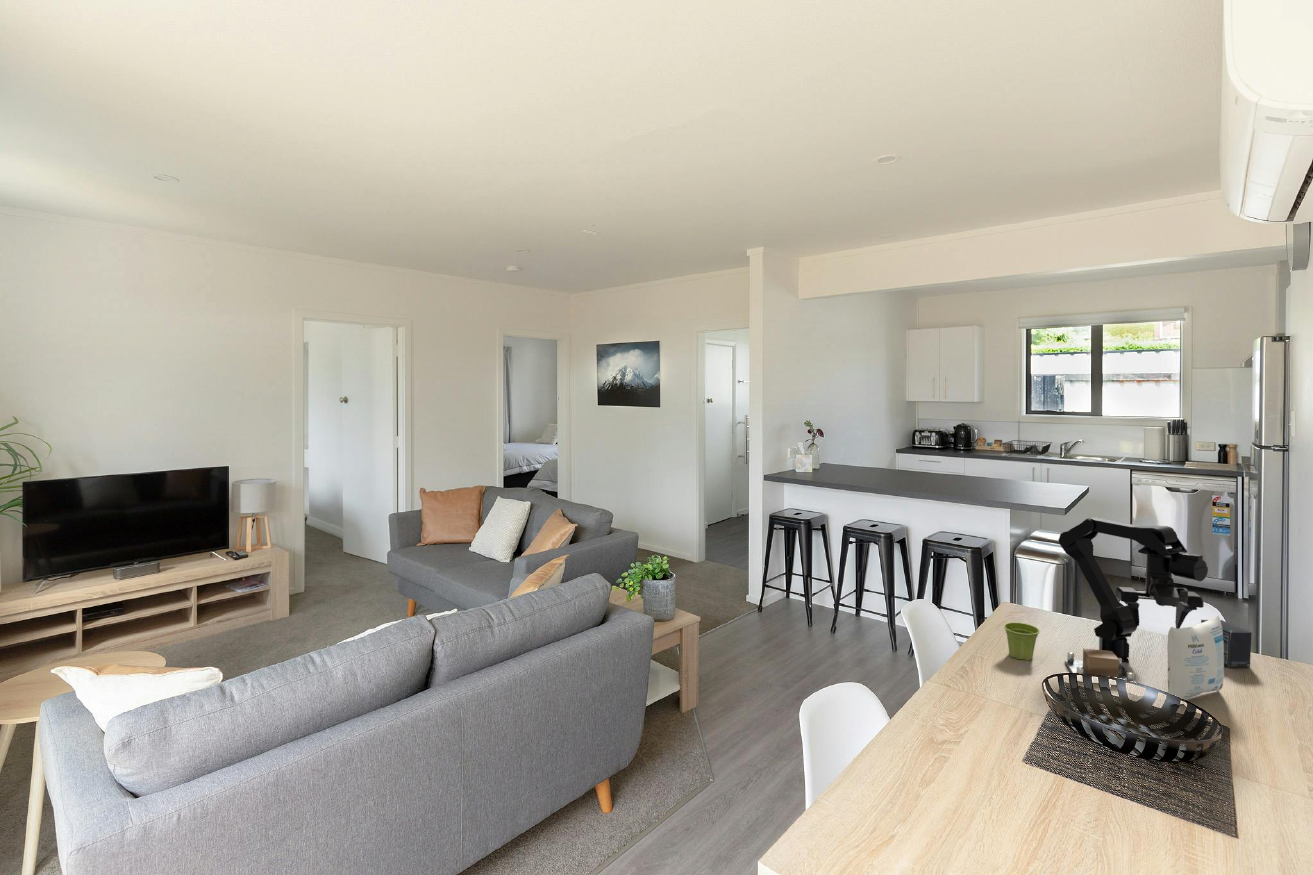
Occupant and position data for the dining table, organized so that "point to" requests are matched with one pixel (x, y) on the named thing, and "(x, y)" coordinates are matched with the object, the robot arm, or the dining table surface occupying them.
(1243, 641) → the small box
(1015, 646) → the plant pot
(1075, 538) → the robot arm
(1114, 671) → the brown block
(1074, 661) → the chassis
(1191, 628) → the pouch
